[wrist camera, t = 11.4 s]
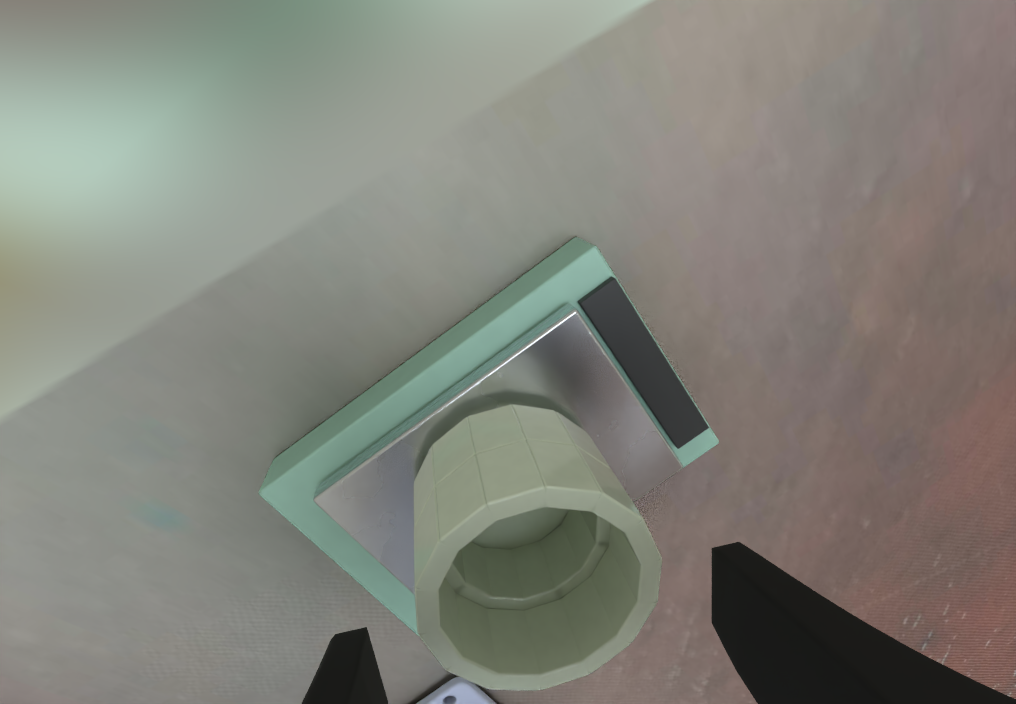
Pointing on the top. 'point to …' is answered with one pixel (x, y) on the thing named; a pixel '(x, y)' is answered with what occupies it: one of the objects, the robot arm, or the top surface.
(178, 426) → the top surface
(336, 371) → the top surface
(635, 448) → the pan
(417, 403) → the scale
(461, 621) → the green faceted cup
